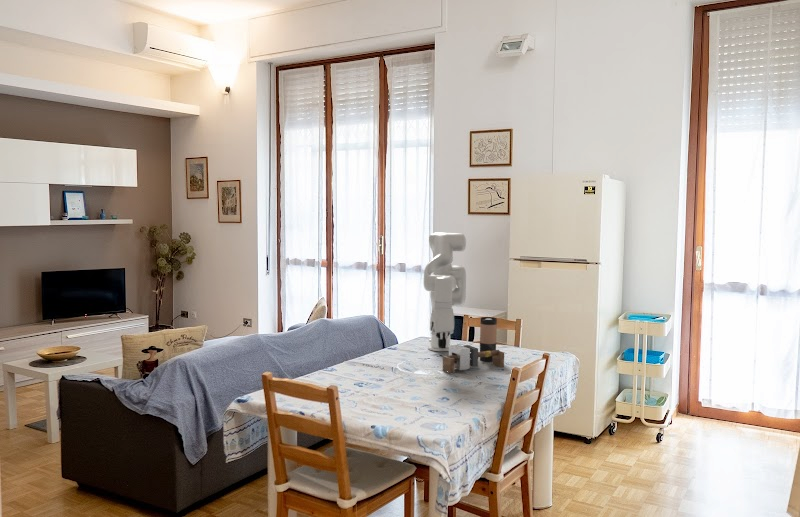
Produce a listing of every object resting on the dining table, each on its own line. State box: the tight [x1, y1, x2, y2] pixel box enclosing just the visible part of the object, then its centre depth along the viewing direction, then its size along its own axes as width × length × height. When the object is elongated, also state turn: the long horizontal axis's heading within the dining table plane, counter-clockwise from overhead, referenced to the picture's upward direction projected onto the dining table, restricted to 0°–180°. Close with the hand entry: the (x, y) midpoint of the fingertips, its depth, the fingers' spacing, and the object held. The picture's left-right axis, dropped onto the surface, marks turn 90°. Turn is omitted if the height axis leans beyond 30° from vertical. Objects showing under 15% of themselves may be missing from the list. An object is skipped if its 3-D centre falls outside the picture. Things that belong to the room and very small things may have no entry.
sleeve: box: [448, 344, 471, 371], centre depth 295 cm, size 5×9×9 cm, turn 29°
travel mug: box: [479, 316, 498, 363], centre depth 314 cm, size 8×8×20 cm
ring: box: [462, 344, 479, 368], centre depth 298 cm, size 2×8×8 cm, turn 29°
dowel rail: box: [442, 349, 505, 374], centre depth 299 cm, size 29×6×7 cm, turn 119°
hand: (442, 347), depth 290 cm, fingers closed
